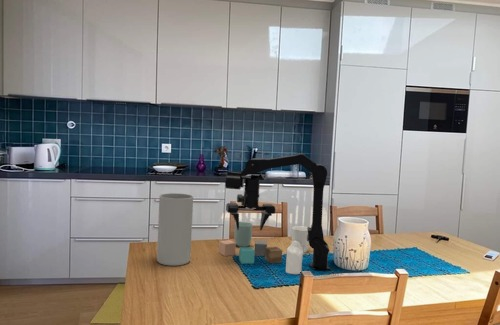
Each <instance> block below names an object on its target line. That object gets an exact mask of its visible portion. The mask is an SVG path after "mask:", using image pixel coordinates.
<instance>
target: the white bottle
mask: <svg viewBox="0 0 500 325" xmlns="http://www.w3.org/2000/svg"><path fill="white" fill-rule="evenodd" d="M303 257H304V253H303V249H302V247H301V245H300V243H299V242H297V241H293V242H292V241H291V244H290V245H289V246H288V247H287V249H286V261H285V273H286V274H289V275H299V274H301V273H302V268H303V266H302V265H303ZM300 272H301V273H300Z"/></svg>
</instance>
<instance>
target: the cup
mask: <svg viewBox="0 0 500 325" xmlns="http://www.w3.org/2000/svg"><path fill="white" fill-rule="evenodd" d="M252 236H253V223H251V222H247V221H239V230H237V227H236V223H235V224H234V242H235V243H236V246H237V247H238V248H240V247H250V245H251V243H252Z"/></svg>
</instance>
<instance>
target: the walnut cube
mask: <svg viewBox="0 0 500 325" xmlns="http://www.w3.org/2000/svg"><path fill="white" fill-rule="evenodd" d="M264 261H266V262H268V263H269V264H278V263H282V262H283V249H281V248H280V247H278V246H267V247H266V249H265V256H264Z"/></svg>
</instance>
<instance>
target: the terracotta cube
mask: <svg viewBox="0 0 500 325" xmlns="http://www.w3.org/2000/svg"><path fill="white" fill-rule="evenodd" d="M218 244H219V245H218V254H220V255H222V256H223V257H229V256H236V246H237V245H236V243H235V241H232V240H231V239H228V240H220V241H218Z"/></svg>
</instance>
